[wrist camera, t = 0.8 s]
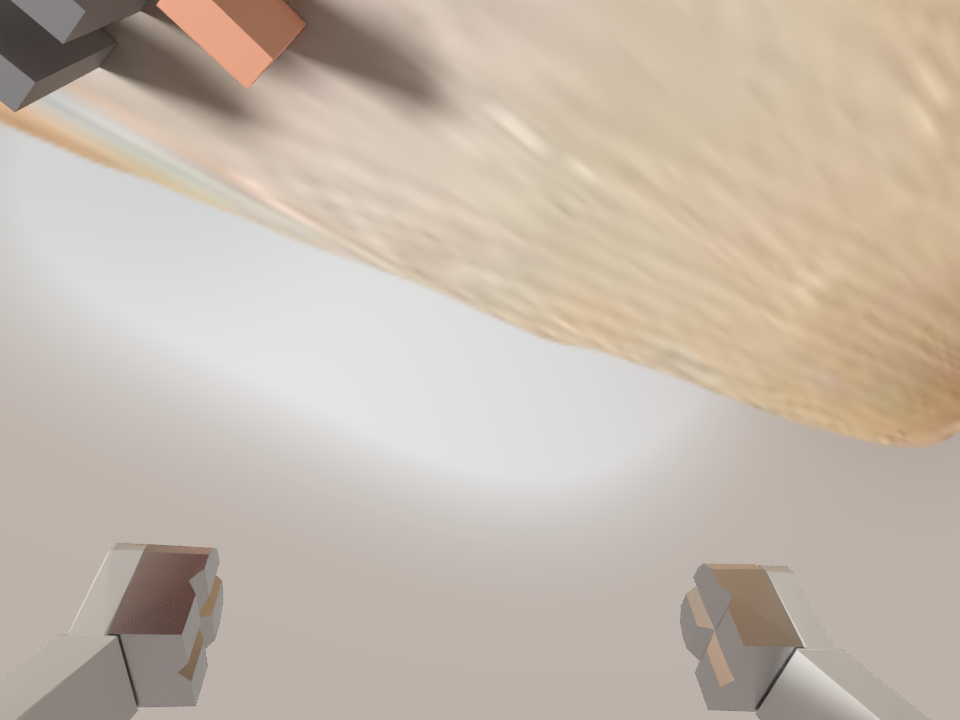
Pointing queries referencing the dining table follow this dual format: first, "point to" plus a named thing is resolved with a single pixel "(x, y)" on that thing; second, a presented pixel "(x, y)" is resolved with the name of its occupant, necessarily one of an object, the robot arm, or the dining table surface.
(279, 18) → the domino
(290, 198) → the dining table surface
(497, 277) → the dining table surface
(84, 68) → the domino
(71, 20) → the domino
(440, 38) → the dining table surface
